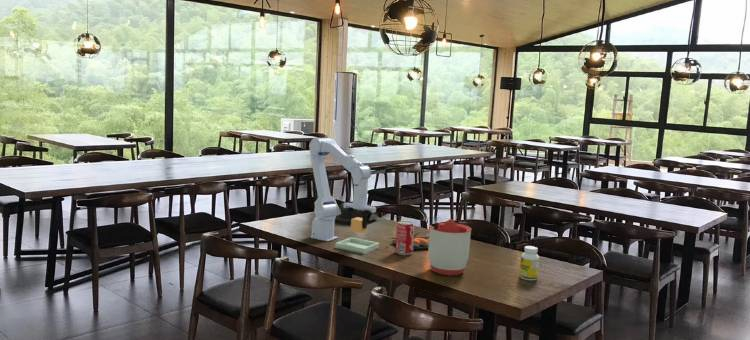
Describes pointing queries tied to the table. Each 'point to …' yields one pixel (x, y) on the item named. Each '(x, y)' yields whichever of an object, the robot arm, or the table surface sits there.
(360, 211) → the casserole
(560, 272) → the table surface
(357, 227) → the tan block
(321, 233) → the robot arm
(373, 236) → the table surface
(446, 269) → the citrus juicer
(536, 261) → the pill bottle
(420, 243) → the sushi plate
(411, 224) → the soda can
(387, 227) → the table surface
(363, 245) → the tray
